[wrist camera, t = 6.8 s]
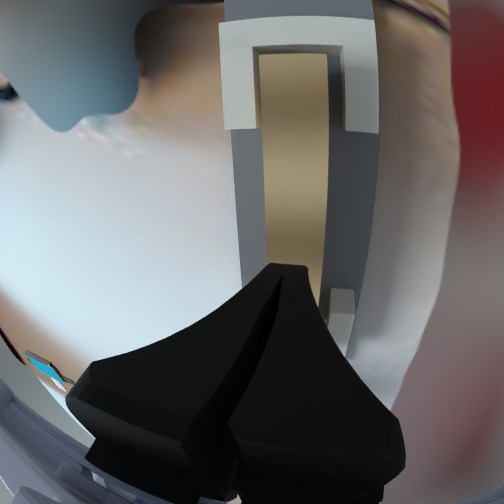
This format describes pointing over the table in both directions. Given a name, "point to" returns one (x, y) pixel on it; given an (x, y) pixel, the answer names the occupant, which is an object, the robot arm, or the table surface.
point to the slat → (295, 159)
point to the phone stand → (47, 369)
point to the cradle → (340, 133)
